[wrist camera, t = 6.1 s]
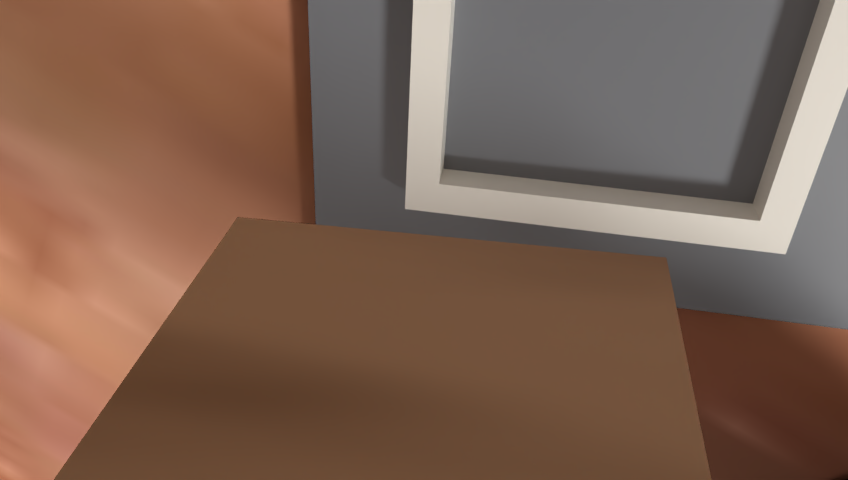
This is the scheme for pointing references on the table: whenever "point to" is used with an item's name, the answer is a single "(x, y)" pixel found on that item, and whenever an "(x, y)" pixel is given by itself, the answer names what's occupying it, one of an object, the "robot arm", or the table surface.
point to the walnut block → (406, 366)
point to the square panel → (599, 135)
